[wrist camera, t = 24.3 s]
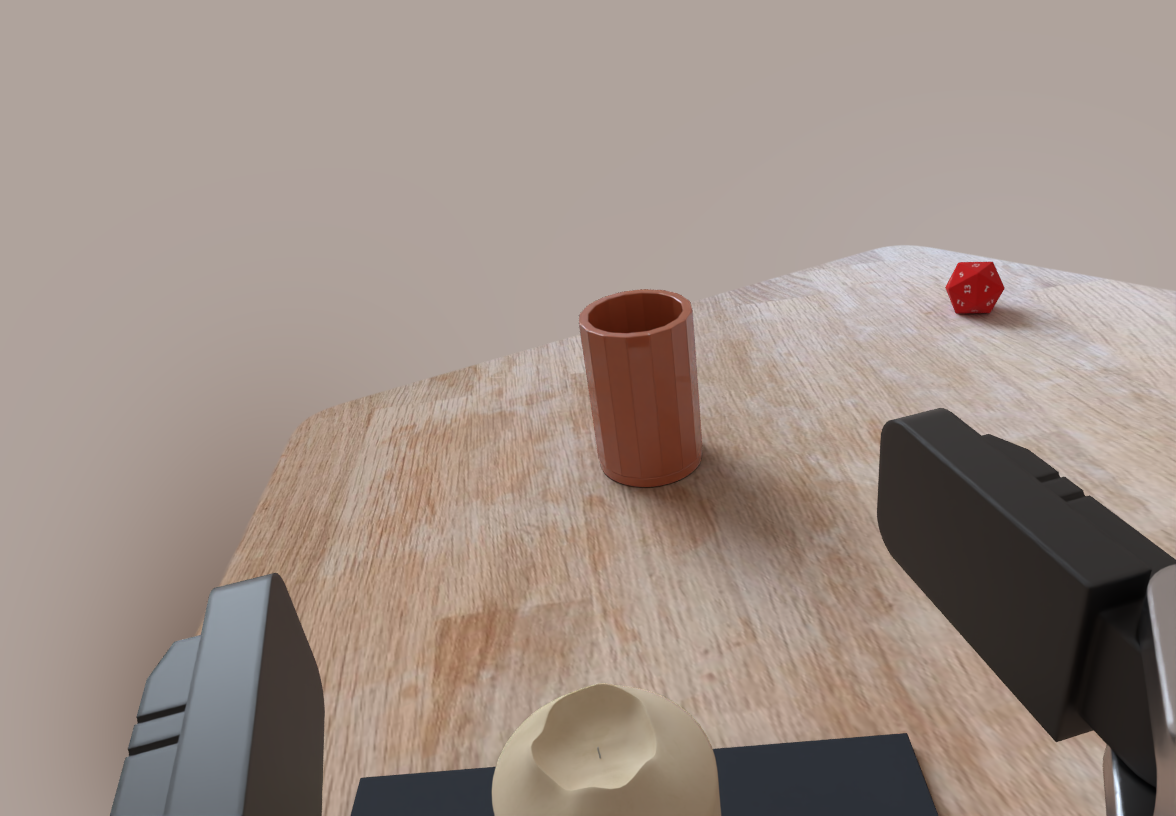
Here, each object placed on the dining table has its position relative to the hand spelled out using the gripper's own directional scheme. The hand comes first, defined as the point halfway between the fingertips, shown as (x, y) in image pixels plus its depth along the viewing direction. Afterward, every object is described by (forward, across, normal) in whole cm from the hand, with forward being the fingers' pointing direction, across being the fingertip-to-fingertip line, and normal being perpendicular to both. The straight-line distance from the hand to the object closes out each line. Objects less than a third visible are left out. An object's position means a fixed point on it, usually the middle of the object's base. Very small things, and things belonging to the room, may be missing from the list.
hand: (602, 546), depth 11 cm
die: (+39, -34, +20) cm, 56 cm away
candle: (+5, 0, +20) cm, 20 cm away
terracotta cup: (+31, -8, +20) cm, 38 cm away
